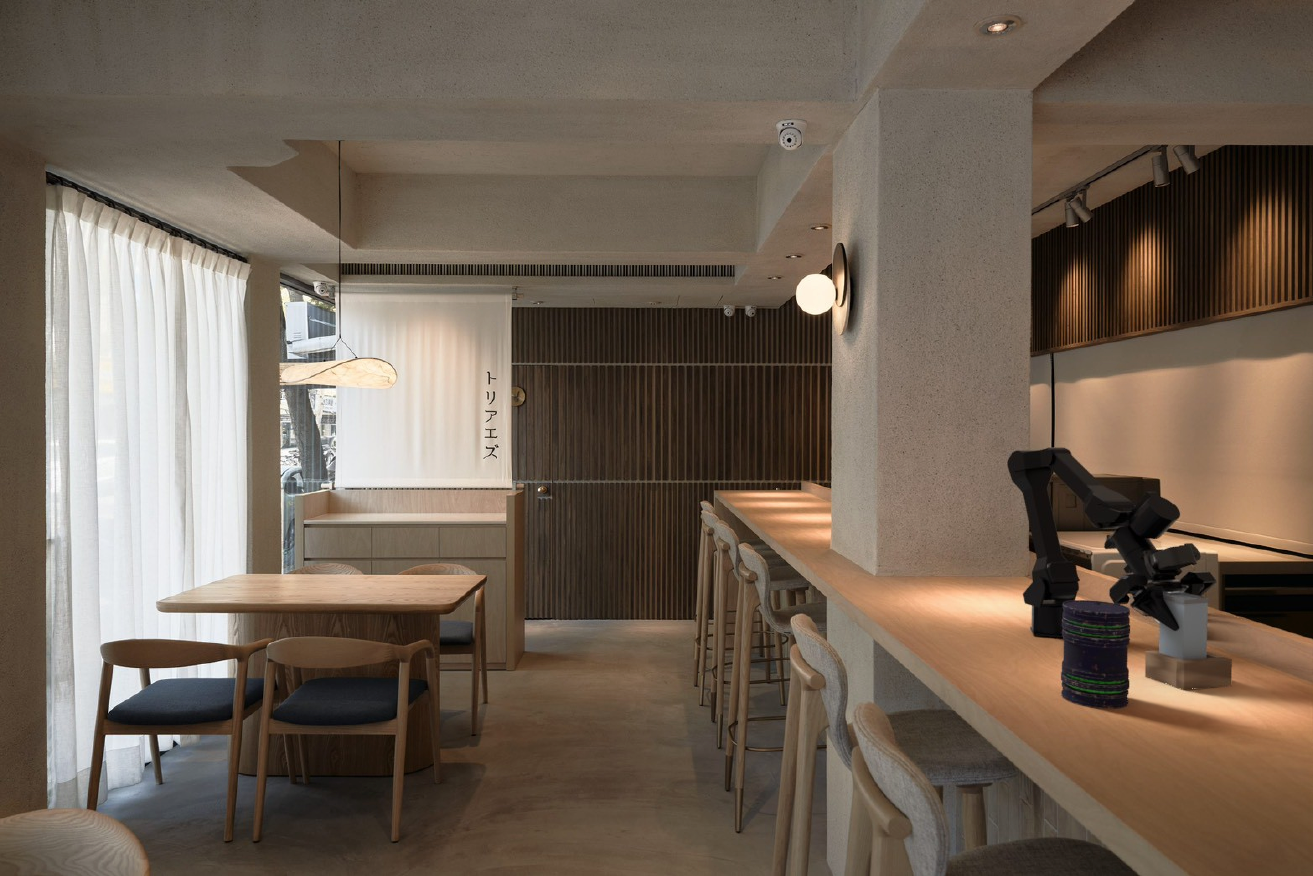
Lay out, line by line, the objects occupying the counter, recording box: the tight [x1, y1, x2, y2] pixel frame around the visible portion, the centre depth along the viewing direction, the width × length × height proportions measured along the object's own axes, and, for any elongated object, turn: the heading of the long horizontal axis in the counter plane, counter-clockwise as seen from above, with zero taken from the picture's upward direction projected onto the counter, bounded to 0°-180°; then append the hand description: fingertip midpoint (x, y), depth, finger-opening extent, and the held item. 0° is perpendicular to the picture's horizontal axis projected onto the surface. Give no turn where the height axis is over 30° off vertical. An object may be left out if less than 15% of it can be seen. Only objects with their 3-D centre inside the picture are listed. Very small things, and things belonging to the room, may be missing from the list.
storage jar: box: [1060, 599, 1131, 710], centre depth 142 cm, size 10×10×15 cm
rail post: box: [1158, 592, 1210, 660], centre depth 153 cm, size 5×5×12 cm
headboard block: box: [1144, 650, 1233, 691], centre depth 152 cm, size 8×10×4 cm
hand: (1189, 628), depth 151 cm, fingers closed on rail post, 5 cm apart
